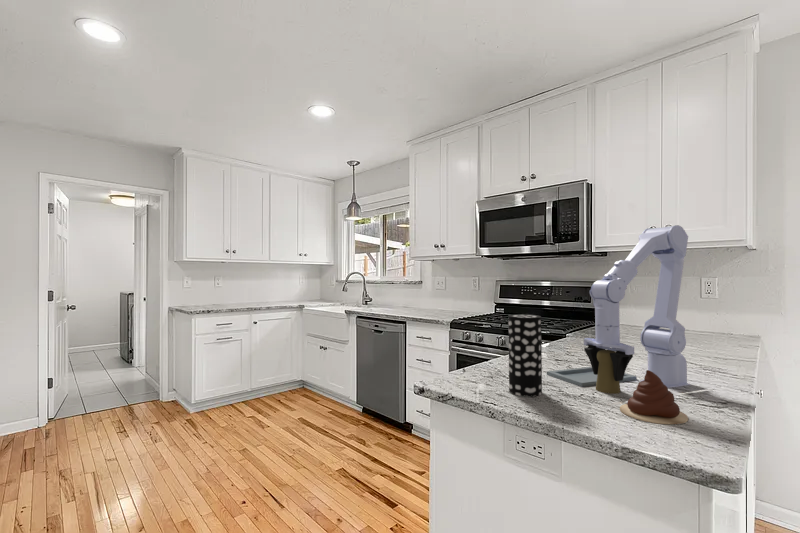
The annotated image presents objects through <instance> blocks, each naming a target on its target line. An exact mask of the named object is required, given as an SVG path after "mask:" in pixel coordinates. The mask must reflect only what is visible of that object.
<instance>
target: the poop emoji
mask: <svg viewBox="0 0 800 533" xmlns="http://www.w3.org/2000/svg"><path fill="white" fill-rule="evenodd" d="M642 380H643V381H640V382H638V384H637V386H636V388H635V390H634V391H633V394H632V396H631V397H629V399H628V400H627V403H626V404H627V405H628V408H629V409H630V410H631V411H632V412H634V413H636V414H639V415H645V416H653V415H658V416H661V417H665V418H674V417H677V416H678V415H679V413H680V412H681V409H680V407H679V404H677V403H676V402H675V396H674V393H673V392H672V391H671V390H669V388H667V386H666V385H664V384H663V382H662V381H661V379H660V378H659V377H658V376H657V375H656V374H654V373H653V372H651V371H649V370H648V369H646V371H645V375H644V377H643V379H642Z"/></svg>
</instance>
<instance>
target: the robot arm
mask: <svg viewBox="0 0 800 533" xmlns="http://www.w3.org/2000/svg"><path fill="white" fill-rule="evenodd" d="M688 240H689V235H688V234H687V232H686V230H685V229H684V227H683V226H681V225H671V226H663V227H654V228H651V227H649V228H648V227H647V228H645V229H644V230H643V231H642V232H641V234H639V235H638V242H637V244H635V246H634V247H633V249H632V250H631V251H630V253H629V254H628V255H627V257H626V258H625V259H620V260H617V261H615V262H614V263H613V266H612V267H611V269H610V270H609V271H608V272H607V273H605V274H604V275H603V276H602V279H598V280H596V281H594V282H593V283H592V285H591V287H590V290H589V296H590V298H591V299H592V304H593V307H594V316H595V317H594V319H595V320H594V321H595V338H591V337H585V338H583V346H585V347H584V348H583V351H584V353H585V354H586V356H587V358H588V359H589V362H590V364H591V366H590V367H592V369H593V373H594V374H595V375H598V367H599V361H598V360H597V353H598V351H600V350H611V351H615V352H616V353H610V357H611V359H612V363H613V369H614V379H615V381H622V380H623V377H624V374H625V373H626V371H627V368H628V366H629V364H630V362H631V360H632V359H633V358H634V357H633V356H634V355H635V346H632V345H629V344H625V343H622V342H621V338H620V336H621V335H620V334H621V332H620V331H621V330H620V329H621V328H620V325H621V324H620V322H621V321H620V302H621V301H622V300H624V298H625V295H626V290H627V288H628V285H629V284H630V283H631V282H632V281H633V280H634V278H635V277H637V275H638V272H639V271H638V267H639V266H641V264H642V263H643V262H645V260H647V258H648V257H649V256H651V255H652V256H653V257H654V258H655V259H658V260H659V262H660V267H659V275H658V282H657V288H656V296H655V303H654V310H653V316H652V317H650V318H648V319H647V320H646V321H645V322H644V325H643V328H642V331H641V333H640V335H639V336H640V338H639V339H640V344H641V345H642V346H643V347H644V351H646V352H647V370H649V371H651V372H653V373H654V374H656V375H657V376H658V377H659V378H660V379H661V381H662V382H663V384H664V385H666V386H667V388H668V389H671V388H677V387H684V386H690V385H691V384H690V383H688V365H687V364H688V362H687V360H686V359H687V358H686V357H685V356H684V355H683V354H682V352H683V351H684V350H685V348H686V346H687V345H686V344H687V340H686V335H685V334H686V328H685V326H684V325H682V324H681V323H680V322H679V321H678V320H677V313H678V307H679V300H680V292H681V285H682V278H683V270H684V262H685V257H686V256H687V255H686V254H687V248H688ZM643 380H644V379H641V380H640V382H641V381H643Z"/></svg>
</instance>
